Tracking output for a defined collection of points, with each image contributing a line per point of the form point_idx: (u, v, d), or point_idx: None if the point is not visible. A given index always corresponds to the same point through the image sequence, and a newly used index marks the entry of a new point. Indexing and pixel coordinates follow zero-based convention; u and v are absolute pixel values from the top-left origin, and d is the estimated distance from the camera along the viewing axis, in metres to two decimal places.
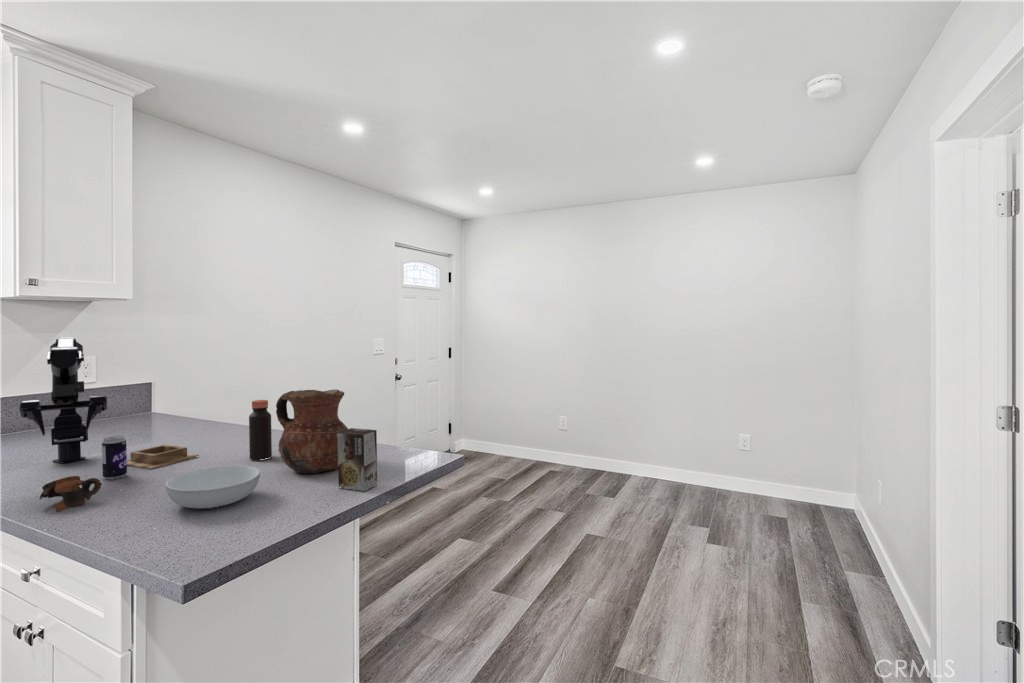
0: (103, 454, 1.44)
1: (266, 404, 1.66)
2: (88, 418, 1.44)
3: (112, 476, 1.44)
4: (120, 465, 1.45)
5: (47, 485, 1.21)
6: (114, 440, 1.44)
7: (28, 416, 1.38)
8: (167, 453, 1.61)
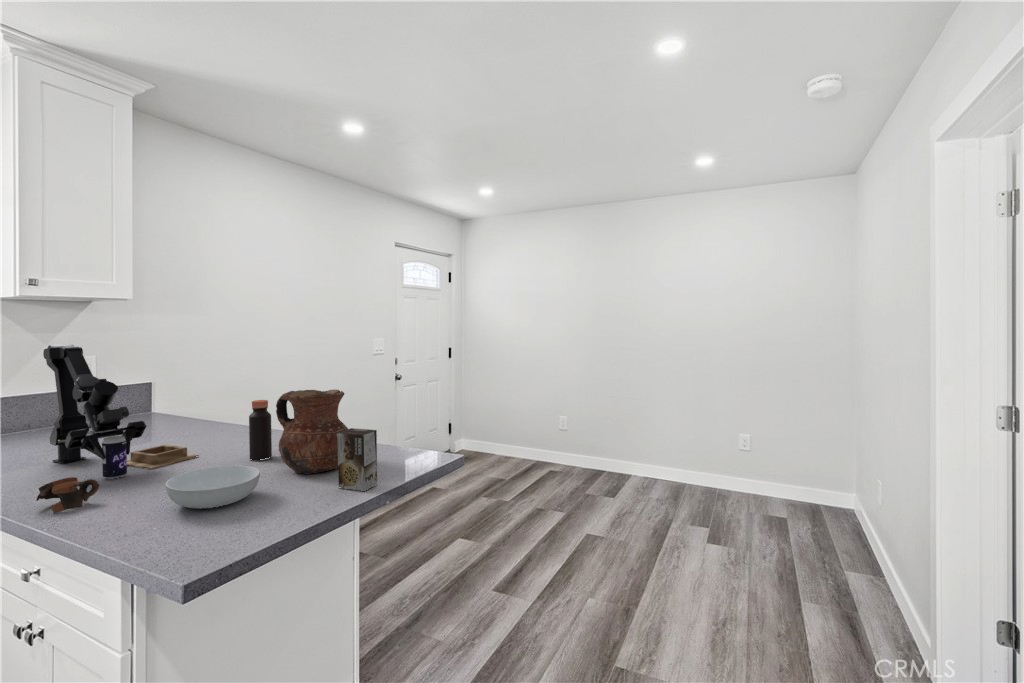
0: None
1: (266, 404, 1.66)
2: (127, 442, 1.49)
3: (112, 476, 1.44)
4: (120, 465, 1.45)
5: (44, 487, 1.20)
6: (114, 440, 1.44)
7: (83, 444, 1.43)
8: (167, 453, 1.61)
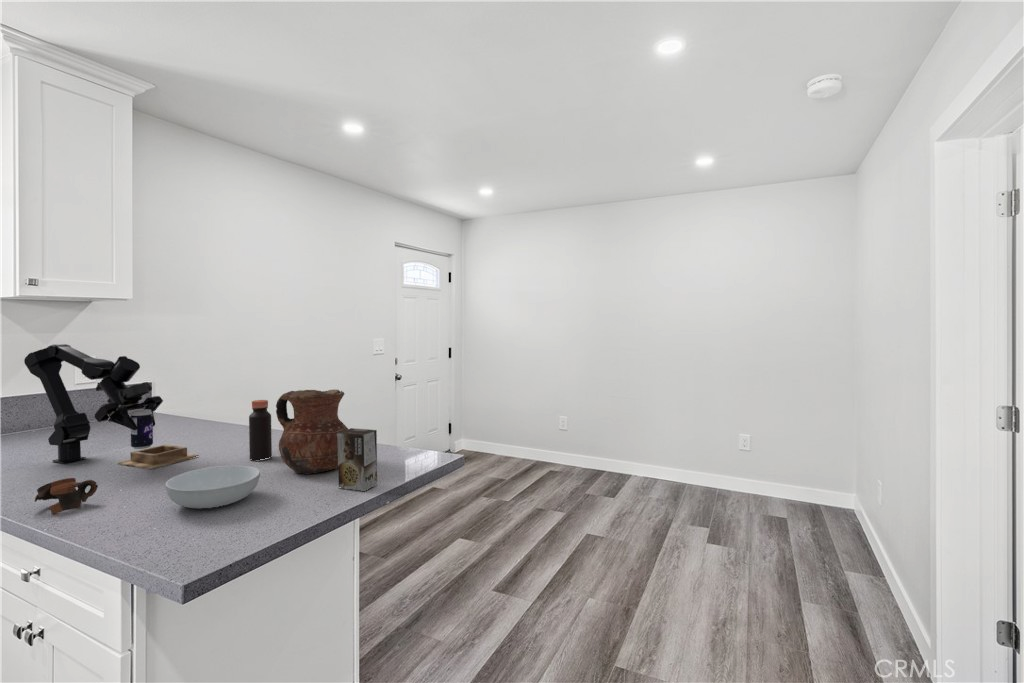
0: None
1: (266, 404, 1.66)
2: None
3: (143, 446, 1.55)
4: (150, 436, 1.57)
5: (42, 487, 1.20)
6: (145, 412, 1.55)
7: (113, 417, 1.51)
8: (167, 453, 1.61)
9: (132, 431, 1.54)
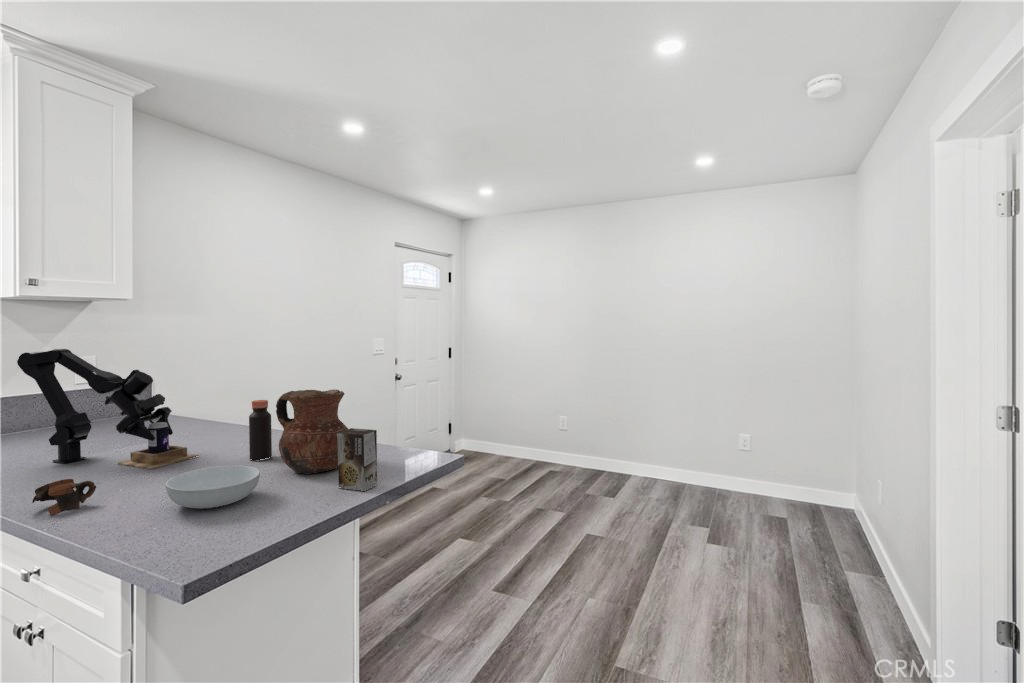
0: None
1: (266, 404, 1.66)
2: (168, 424, 1.69)
3: None
4: (167, 447, 1.65)
5: (40, 489, 1.19)
6: (163, 425, 1.63)
7: (131, 429, 1.57)
8: (167, 453, 1.61)
9: (151, 443, 1.61)
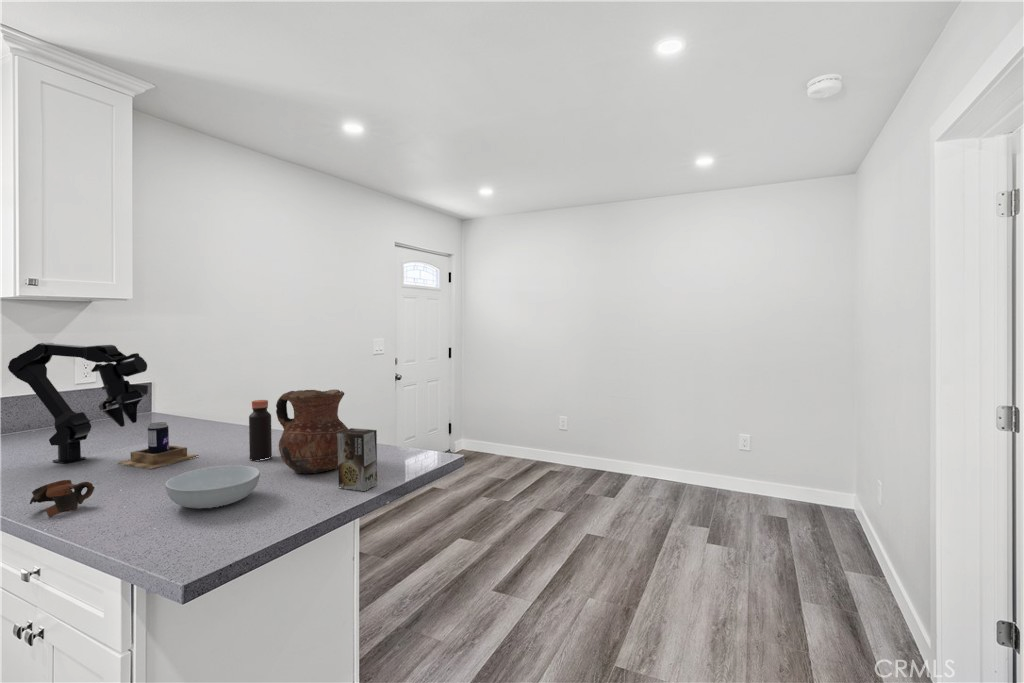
0: (153, 438, 1.61)
1: (266, 404, 1.66)
2: None
3: None
4: (167, 447, 1.65)
5: (37, 490, 1.18)
6: (163, 425, 1.63)
7: (130, 403, 1.60)
8: (167, 453, 1.61)
9: (151, 443, 1.61)
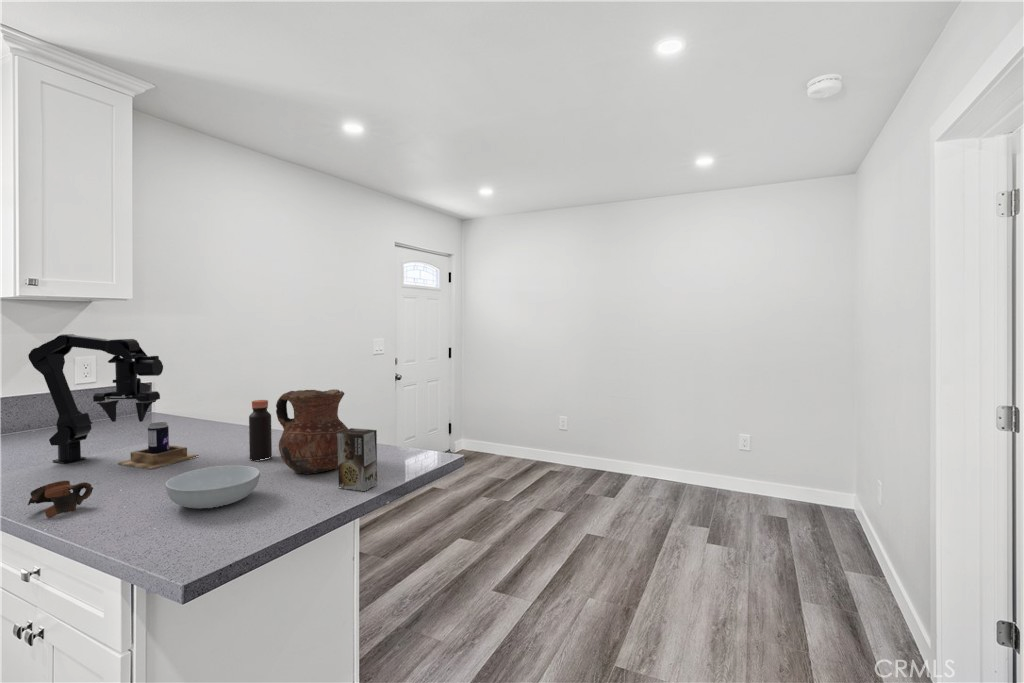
0: (153, 438, 1.61)
1: (266, 404, 1.66)
2: None
3: None
4: (167, 447, 1.65)
5: (35, 491, 1.17)
6: (163, 425, 1.63)
7: (148, 403, 1.64)
8: (167, 453, 1.61)
9: (151, 443, 1.61)
